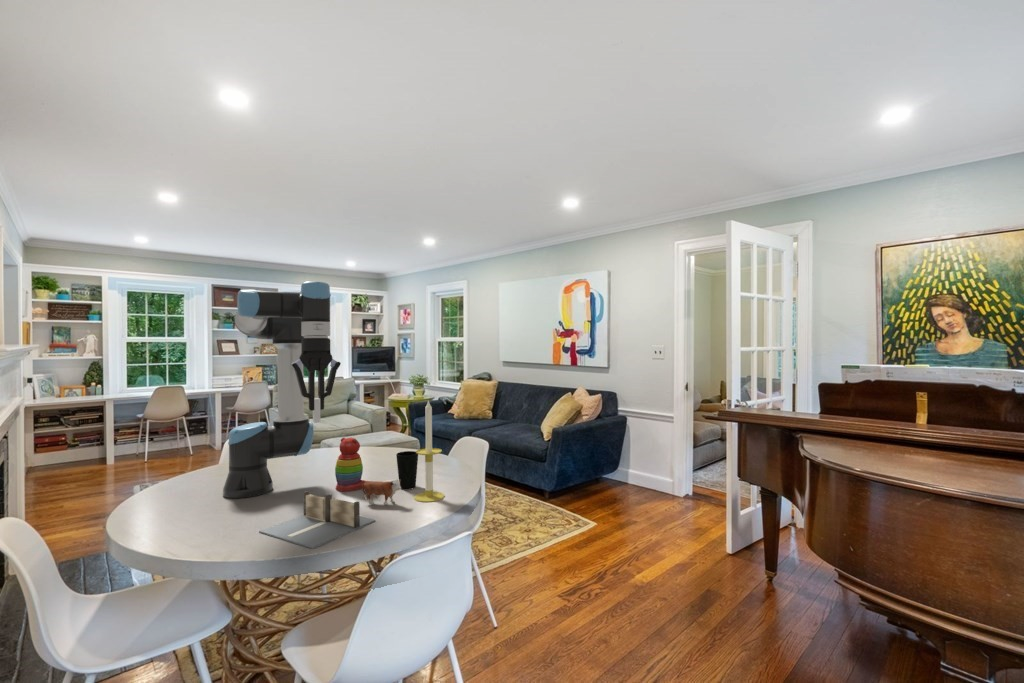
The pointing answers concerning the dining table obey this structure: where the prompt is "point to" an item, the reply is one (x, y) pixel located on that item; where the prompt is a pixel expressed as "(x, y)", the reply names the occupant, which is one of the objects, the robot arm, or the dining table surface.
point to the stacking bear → (349, 466)
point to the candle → (428, 462)
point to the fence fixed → (317, 506)
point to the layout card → (311, 530)
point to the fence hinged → (345, 512)
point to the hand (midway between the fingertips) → (316, 421)
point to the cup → (407, 468)
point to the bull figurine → (381, 489)
